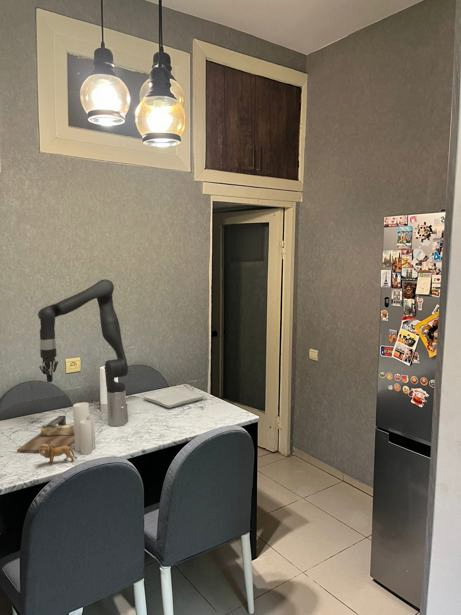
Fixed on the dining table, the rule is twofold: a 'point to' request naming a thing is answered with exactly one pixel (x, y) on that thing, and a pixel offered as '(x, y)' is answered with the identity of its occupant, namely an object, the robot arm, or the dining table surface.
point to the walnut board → (48, 438)
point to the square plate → (174, 397)
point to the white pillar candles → (84, 428)
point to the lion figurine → (55, 452)
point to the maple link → (57, 430)
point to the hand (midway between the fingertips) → (49, 381)
